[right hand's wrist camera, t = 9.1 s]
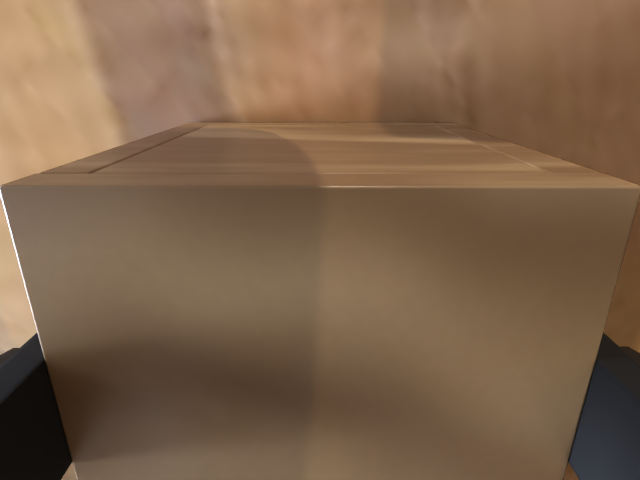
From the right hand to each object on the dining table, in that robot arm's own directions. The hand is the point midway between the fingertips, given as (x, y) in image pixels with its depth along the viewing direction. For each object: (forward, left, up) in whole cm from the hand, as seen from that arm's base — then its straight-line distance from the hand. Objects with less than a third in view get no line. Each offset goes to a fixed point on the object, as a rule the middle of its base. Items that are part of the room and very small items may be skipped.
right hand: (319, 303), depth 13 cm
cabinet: (+1, -6, -7) cm, 9 cm away
